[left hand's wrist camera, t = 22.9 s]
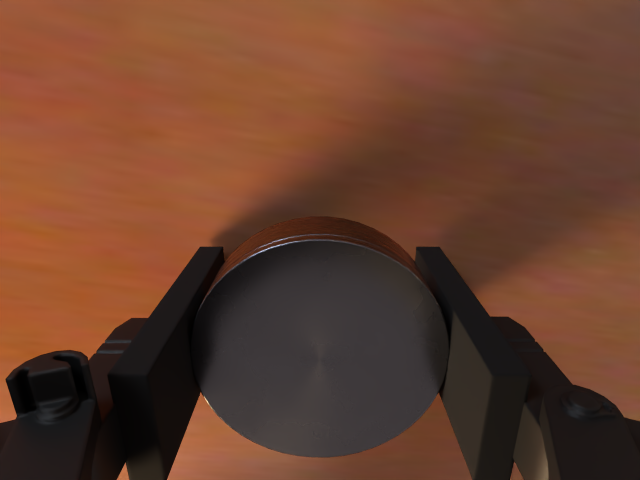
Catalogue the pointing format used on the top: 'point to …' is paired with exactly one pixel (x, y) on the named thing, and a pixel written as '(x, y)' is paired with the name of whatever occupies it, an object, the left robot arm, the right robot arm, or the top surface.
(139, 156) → the top surface
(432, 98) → the top surface
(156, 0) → the top surface
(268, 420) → the lid
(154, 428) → the left robot arm
